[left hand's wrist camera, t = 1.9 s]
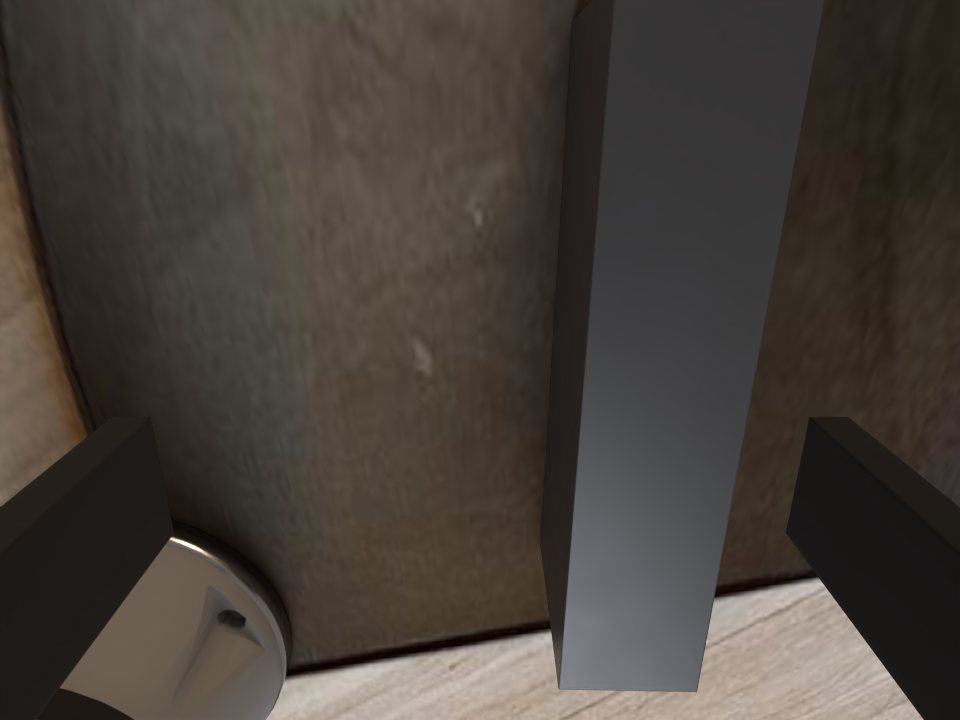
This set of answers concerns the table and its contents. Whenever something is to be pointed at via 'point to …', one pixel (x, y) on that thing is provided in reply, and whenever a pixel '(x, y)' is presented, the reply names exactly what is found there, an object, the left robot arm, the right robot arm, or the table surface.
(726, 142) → the bar
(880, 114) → the table surface
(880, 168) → the table surface
